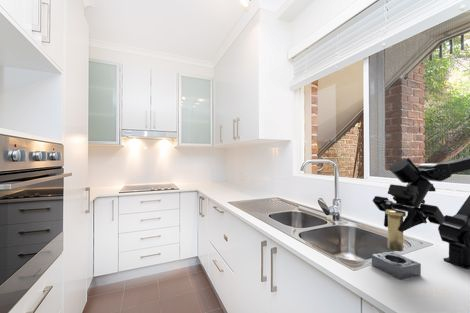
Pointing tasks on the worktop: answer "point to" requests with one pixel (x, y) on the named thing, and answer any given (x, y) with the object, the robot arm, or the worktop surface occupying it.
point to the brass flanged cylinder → (395, 229)
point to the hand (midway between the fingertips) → (392, 228)
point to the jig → (396, 265)
